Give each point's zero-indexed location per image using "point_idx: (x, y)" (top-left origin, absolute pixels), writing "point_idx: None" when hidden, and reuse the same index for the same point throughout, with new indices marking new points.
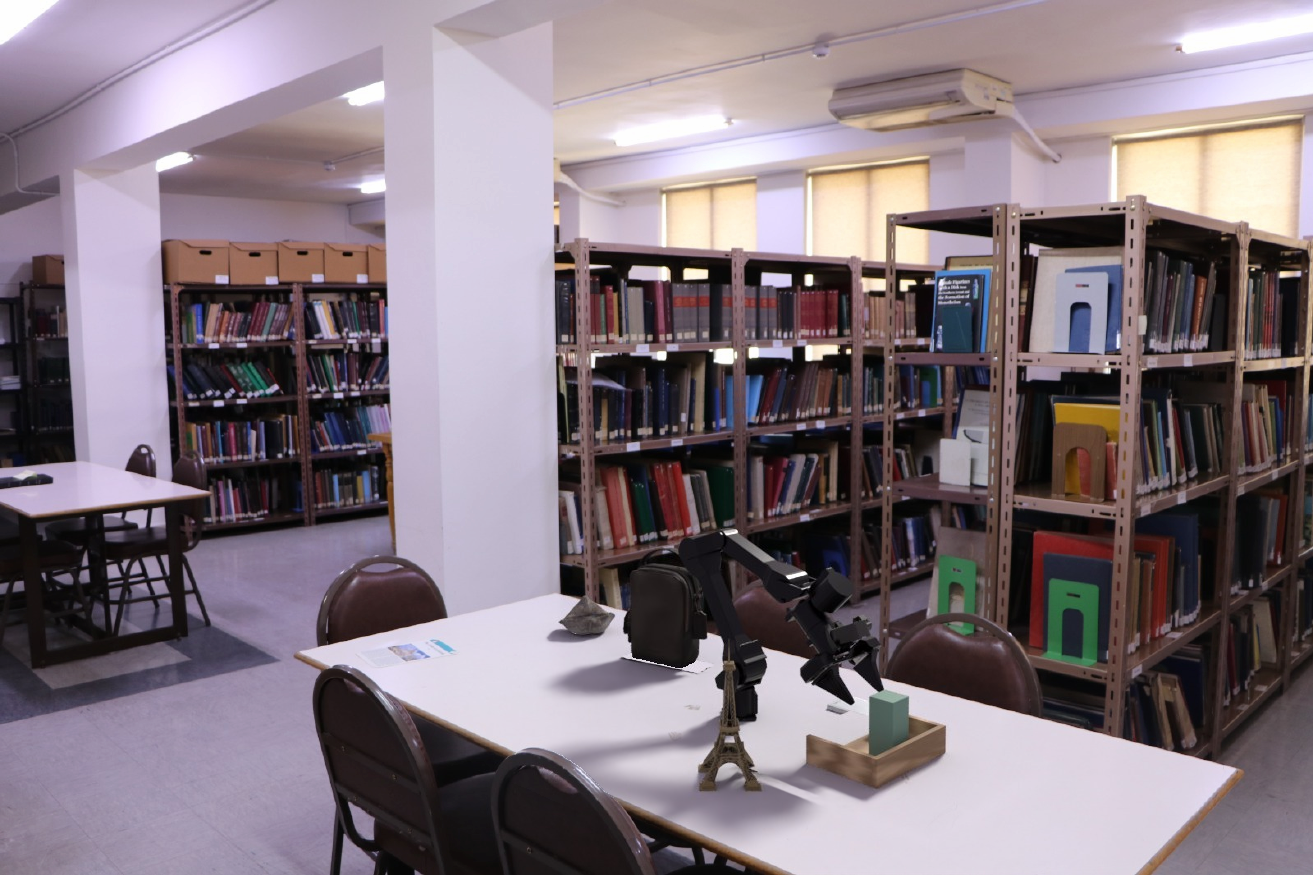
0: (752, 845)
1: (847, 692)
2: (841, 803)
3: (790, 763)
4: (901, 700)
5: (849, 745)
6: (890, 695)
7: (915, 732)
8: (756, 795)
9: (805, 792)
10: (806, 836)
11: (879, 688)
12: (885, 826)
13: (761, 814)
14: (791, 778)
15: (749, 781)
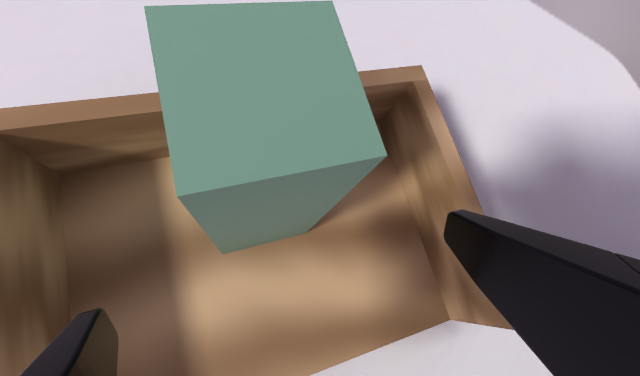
0: (633, 106)
1: (536, 231)
2: (463, 128)
3: (476, 364)
4: (243, 7)
5: (275, 370)
6: (248, 84)
7: (36, 253)
8: (595, 243)
9: (505, 202)
10: (559, 81)
11: (101, 349)
12: (438, 32)
13: (603, 173)
14: None
15: None
